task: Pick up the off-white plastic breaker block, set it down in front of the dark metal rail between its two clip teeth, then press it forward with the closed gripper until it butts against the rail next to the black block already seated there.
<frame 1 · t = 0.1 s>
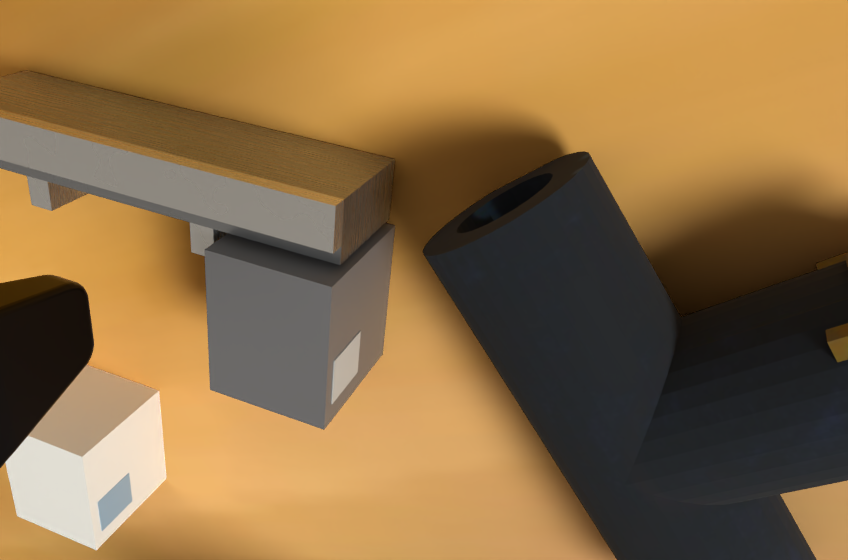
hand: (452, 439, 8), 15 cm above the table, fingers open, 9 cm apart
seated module: (335, 276, 26), on the table
rail: (198, 140, 25), on the table
pipe connector: (751, 341, 22), on the table
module: (125, 420, 34), on the table
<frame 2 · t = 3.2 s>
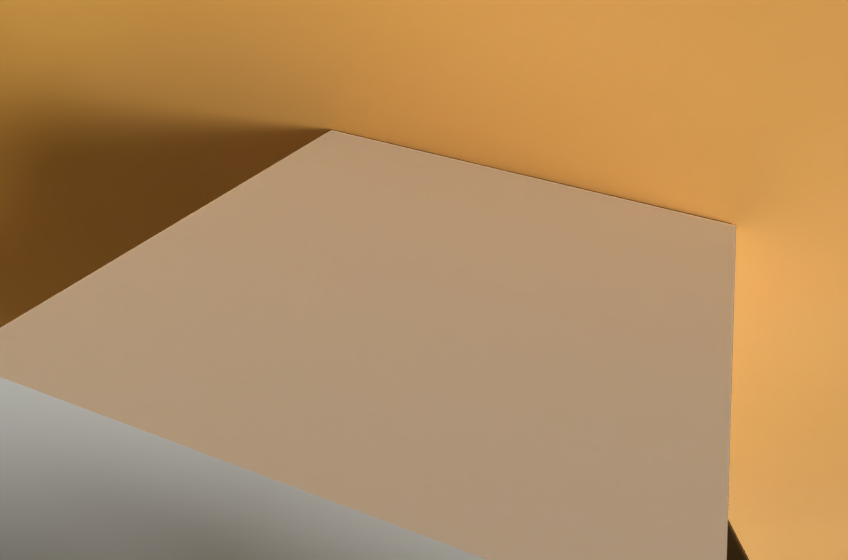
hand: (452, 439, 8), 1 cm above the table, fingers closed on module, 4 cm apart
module: (481, 382, 9), on the table, touching gripper
when the fingers open (2 cm above the table, at t = 6.1 s): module drops 2 cm, on the table.
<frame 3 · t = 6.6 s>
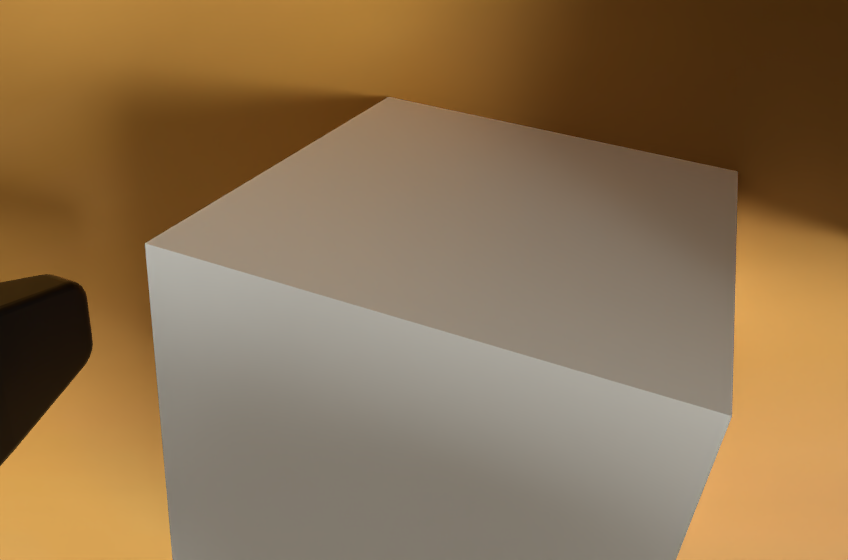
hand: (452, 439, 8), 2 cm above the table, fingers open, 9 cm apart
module: (517, 316, 10), on the table
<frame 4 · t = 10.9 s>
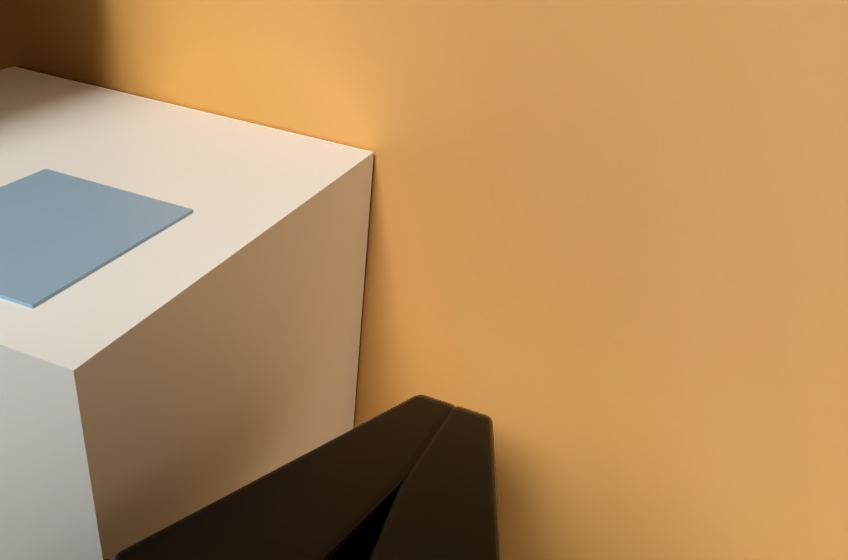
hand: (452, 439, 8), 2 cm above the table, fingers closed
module: (189, 254, 10), on the table, touching gripper
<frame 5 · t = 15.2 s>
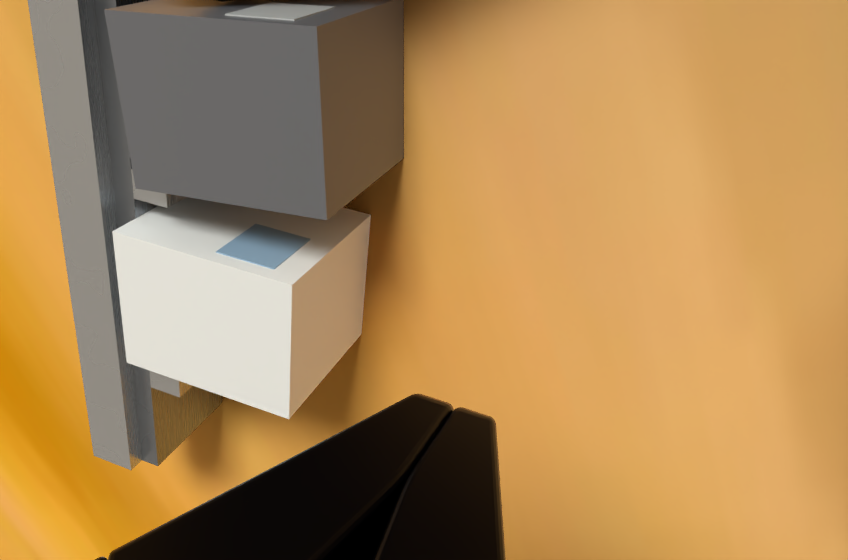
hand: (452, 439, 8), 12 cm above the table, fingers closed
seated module: (316, 71, 20), on the table, touching rail
rail: (188, 214, 23), on the table
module: (291, 254, 23), on the table, touching rail
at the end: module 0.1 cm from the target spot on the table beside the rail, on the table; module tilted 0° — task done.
